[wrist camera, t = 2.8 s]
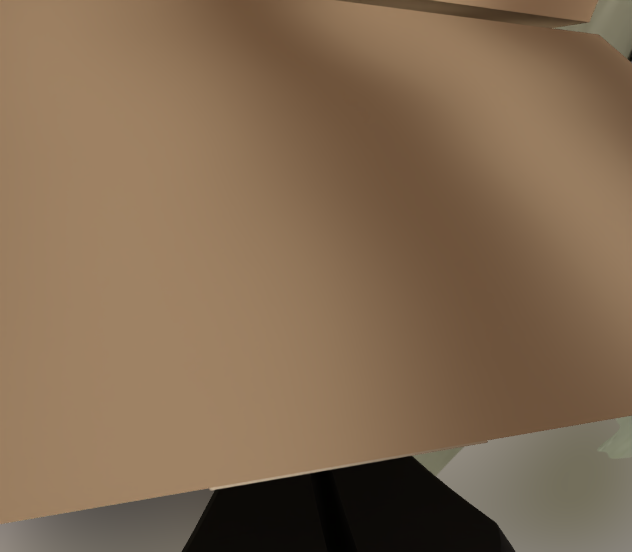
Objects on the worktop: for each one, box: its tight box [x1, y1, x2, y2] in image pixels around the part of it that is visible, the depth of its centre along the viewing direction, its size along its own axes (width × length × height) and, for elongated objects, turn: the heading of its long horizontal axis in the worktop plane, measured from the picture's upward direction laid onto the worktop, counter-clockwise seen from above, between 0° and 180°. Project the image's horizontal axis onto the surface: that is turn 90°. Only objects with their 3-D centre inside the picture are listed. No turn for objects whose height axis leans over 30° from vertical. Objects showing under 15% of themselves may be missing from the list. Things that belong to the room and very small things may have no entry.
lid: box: [0, 0, 632, 524], centre depth 5 cm, size 18×10×1 cm
